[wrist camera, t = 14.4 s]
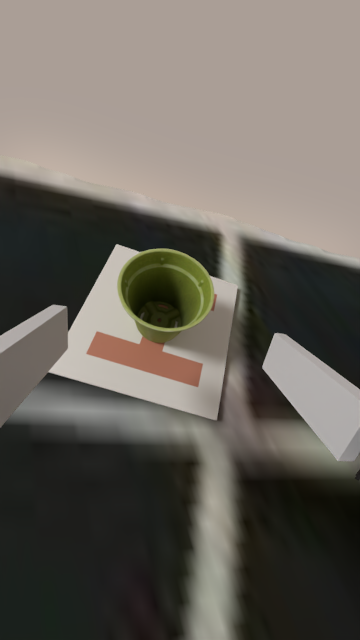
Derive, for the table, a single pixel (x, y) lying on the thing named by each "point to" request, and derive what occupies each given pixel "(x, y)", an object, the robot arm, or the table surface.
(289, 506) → the table surface
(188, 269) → the plant pot
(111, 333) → the letter board
